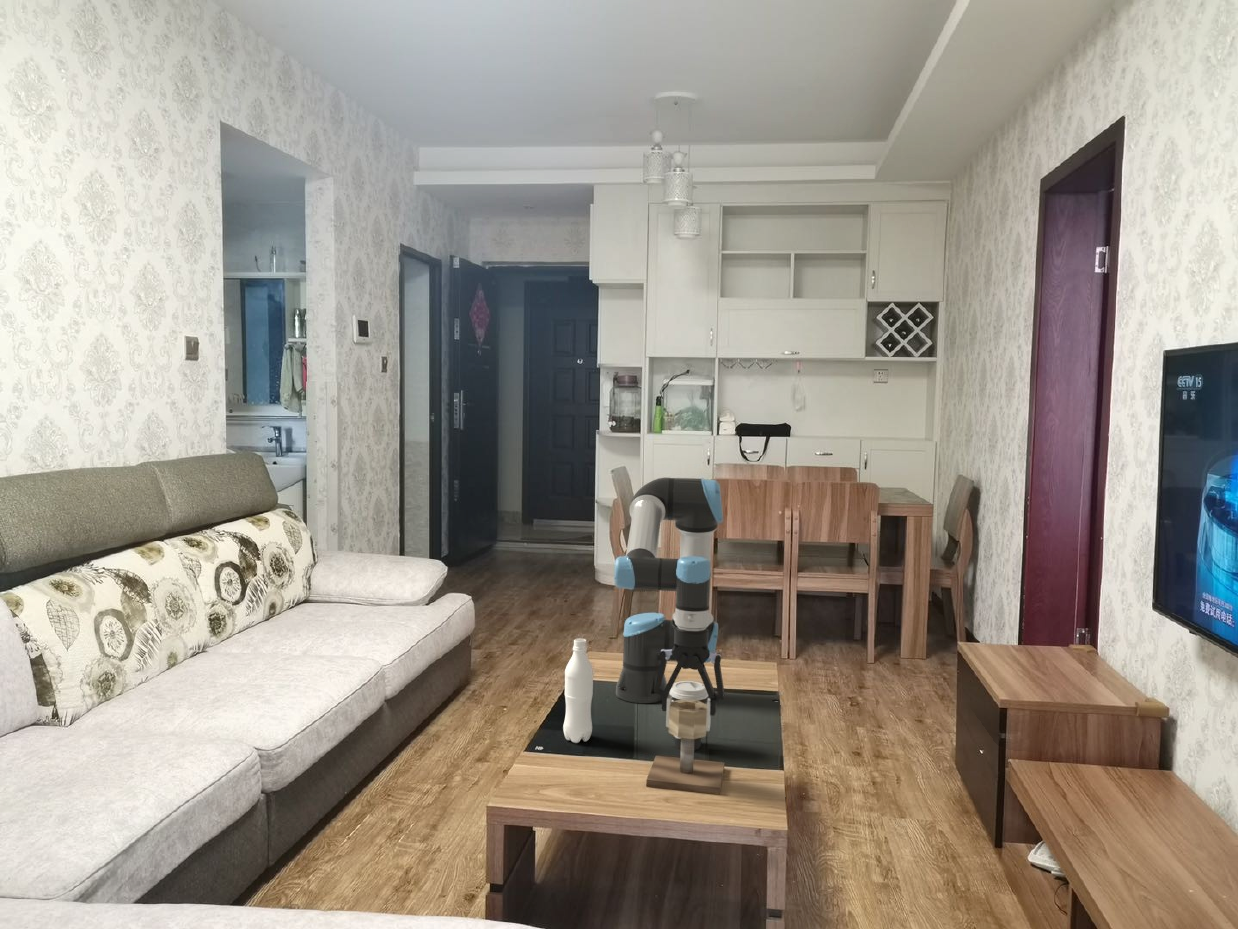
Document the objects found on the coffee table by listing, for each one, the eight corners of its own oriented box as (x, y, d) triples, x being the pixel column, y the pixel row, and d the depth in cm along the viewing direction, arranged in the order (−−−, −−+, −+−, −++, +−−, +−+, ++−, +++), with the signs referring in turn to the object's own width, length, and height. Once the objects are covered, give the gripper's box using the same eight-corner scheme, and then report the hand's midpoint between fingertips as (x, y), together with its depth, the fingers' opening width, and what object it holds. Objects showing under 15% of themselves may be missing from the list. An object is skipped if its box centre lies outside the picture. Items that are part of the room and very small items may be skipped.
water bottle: (557, 739, 222) (559, 639, 221) (577, 731, 228) (580, 634, 226) (577, 747, 217) (580, 645, 216) (597, 739, 223) (600, 640, 221)
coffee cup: (704, 755, 215) (706, 693, 214) (664, 750, 217) (666, 690, 216) (708, 740, 224) (710, 681, 223) (670, 736, 226) (672, 678, 225)
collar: (672, 724, 205) (673, 698, 205) (707, 727, 204) (708, 701, 203) (667, 736, 197) (668, 709, 197) (704, 740, 196) (705, 713, 195)
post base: (655, 761, 210) (657, 711, 209) (724, 769, 207) (726, 718, 206) (646, 786, 196) (648, 732, 195) (719, 794, 193) (721, 740, 192)
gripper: (642, 627, 197) (639, 728, 199) (738, 634, 194) (734, 737, 195) (647, 619, 205) (644, 717, 206) (740, 626, 201) (736, 726, 202)
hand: (688, 727), depth 201 cm, fingers closed on collar, 8 cm apart
